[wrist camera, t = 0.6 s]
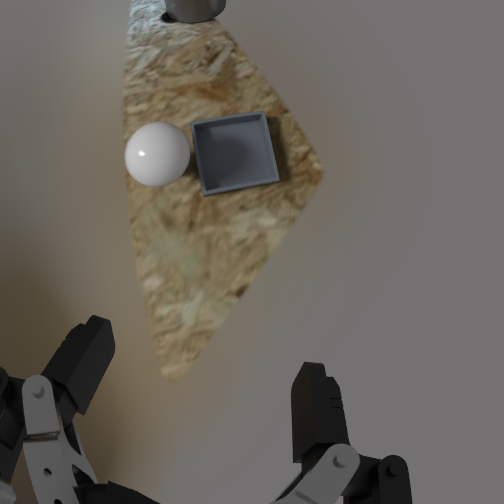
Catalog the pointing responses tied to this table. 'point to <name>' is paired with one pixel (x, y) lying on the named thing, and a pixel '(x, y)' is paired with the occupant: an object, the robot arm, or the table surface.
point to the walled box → (234, 152)
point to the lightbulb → (157, 154)
